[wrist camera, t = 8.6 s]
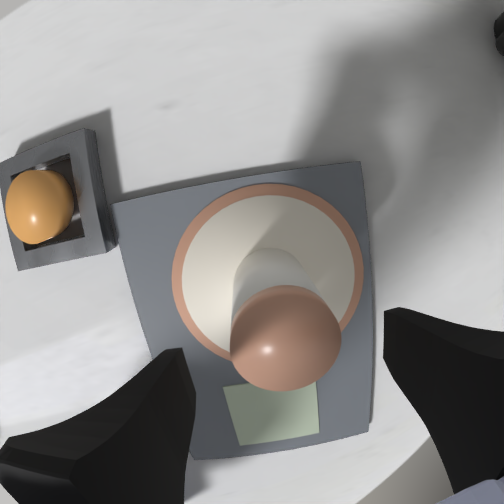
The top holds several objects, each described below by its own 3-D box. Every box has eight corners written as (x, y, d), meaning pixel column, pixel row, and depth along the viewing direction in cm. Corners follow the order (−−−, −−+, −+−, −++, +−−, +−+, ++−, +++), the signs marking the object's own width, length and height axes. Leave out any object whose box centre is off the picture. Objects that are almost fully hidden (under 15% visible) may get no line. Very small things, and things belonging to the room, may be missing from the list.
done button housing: (116, 246, 18) (106, 252, 16) (30, 264, 18) (18, 271, 16) (94, 131, 16) (83, 128, 15) (10, 163, 16) (-3, 164, 15)
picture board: (366, 426, 22) (369, 432, 21) (194, 454, 22) (193, 461, 21) (356, 161, 17) (361, 161, 16) (114, 203, 17) (109, 204, 16)
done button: (80, 230, 16) (64, 236, 14) (30, 243, 16) (13, 249, 14) (67, 161, 15) (51, 161, 14) (18, 180, 15) (0, 181, 14)
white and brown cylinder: (309, 309, 18) (343, 379, 11) (240, 321, 18) (241, 398, 11) (300, 242, 17) (338, 284, 10) (227, 254, 17) (218, 305, 10)
